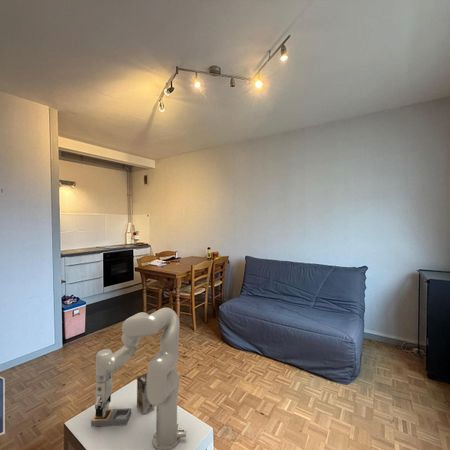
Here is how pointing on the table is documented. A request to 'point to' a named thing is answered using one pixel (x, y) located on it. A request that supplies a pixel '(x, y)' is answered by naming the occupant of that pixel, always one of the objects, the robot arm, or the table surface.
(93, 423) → the frame with rectangular openings
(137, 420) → the table surface
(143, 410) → the coffee box
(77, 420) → the table surface
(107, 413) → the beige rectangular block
